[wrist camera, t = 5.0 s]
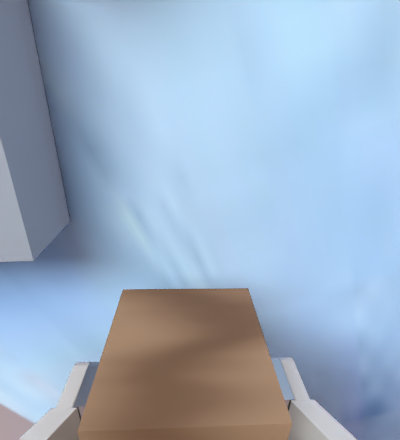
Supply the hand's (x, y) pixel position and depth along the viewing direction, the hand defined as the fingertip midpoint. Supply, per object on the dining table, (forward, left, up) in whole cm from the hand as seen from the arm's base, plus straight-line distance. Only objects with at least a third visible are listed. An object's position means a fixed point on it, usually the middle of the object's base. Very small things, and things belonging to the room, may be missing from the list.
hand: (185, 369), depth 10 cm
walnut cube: (0, 0, -2) cm, 2 cm away
